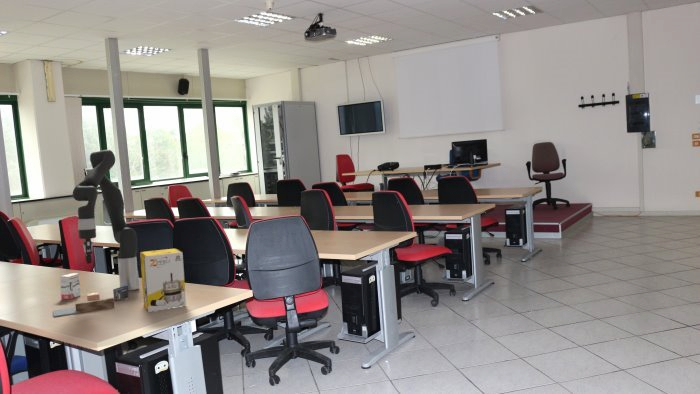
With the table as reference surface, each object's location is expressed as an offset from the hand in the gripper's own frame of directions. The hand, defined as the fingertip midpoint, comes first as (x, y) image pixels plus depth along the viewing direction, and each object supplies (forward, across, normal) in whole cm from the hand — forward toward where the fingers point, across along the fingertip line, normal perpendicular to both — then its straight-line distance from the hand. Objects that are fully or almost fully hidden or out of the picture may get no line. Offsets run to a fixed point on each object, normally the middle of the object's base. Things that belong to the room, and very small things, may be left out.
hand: (88, 262), depth 264 cm
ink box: (+21, +27, +8) cm, 35 cm away
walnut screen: (+21, -10, -1) cm, 23 cm away
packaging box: (+20, -24, -30) cm, 44 cm away
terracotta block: (+21, -3, -1) cm, 21 cm away
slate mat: (+21, -8, +11) cm, 25 cm away
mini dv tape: (+21, +4, -14) cm, 25 cm away
